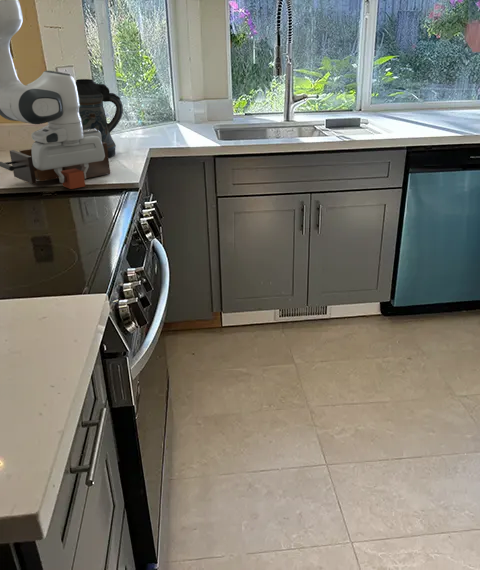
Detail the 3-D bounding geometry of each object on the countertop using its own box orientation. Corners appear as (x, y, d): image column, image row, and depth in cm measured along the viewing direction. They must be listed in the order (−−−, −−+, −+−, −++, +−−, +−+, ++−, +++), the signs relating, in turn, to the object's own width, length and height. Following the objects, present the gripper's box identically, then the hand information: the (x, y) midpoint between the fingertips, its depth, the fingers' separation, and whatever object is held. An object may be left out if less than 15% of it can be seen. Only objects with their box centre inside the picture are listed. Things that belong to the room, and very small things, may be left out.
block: (70, 189, 169) (68, 173, 167) (62, 186, 171) (60, 170, 169) (85, 186, 172) (83, 171, 170) (77, 183, 174) (75, 168, 173)
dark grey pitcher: (58, 154, 206) (45, 79, 195) (110, 145, 219) (100, 74, 208) (80, 163, 196) (67, 84, 185) (133, 154, 208) (124, 80, 197)
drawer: (16, 187, 165) (10, 159, 162) (-3, 179, 172) (-8, 152, 169) (76, 176, 178) (73, 150, 175) (57, 169, 185) (53, 144, 181)
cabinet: (66, 181, 175) (61, 149, 171) (45, 173, 183) (40, 142, 179) (110, 173, 186) (106, 143, 181) (89, 166, 193) (85, 136, 189)
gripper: (94, 126, 174) (99, 172, 180) (25, 134, 160) (33, 184, 166) (106, 129, 170) (111, 176, 176) (36, 138, 156) (44, 189, 162)
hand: (73, 180), depth 171 cm, fingers closed on block, 4 cm apart
